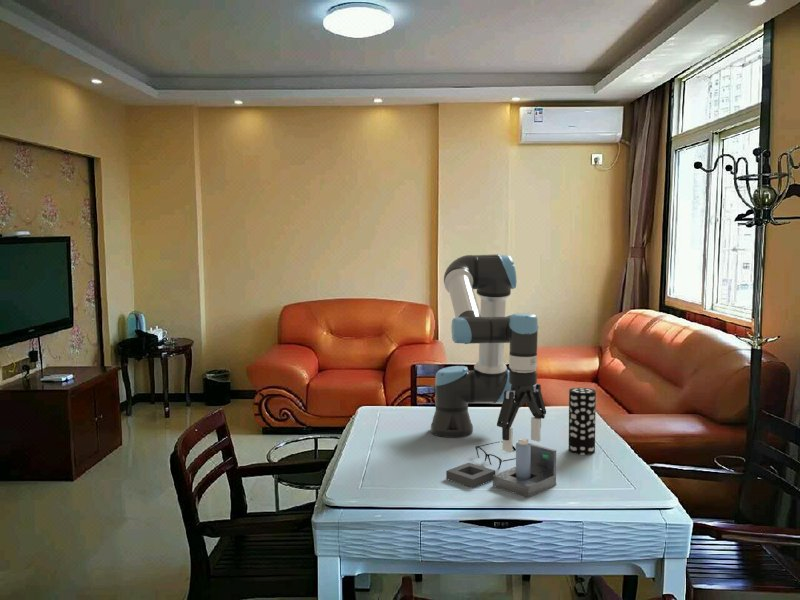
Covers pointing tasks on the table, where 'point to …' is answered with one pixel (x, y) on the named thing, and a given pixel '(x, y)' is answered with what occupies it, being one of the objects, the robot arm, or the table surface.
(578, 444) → the white-spotted black cylinder
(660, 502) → the table surface
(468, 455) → the table surface
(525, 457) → the plug
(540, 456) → the port
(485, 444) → the eyeglasses
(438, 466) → the table surface
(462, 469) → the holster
